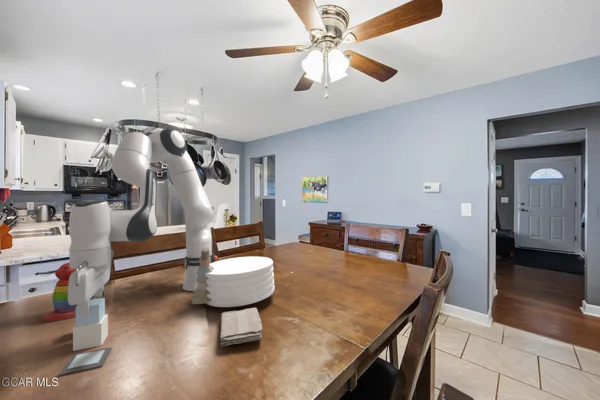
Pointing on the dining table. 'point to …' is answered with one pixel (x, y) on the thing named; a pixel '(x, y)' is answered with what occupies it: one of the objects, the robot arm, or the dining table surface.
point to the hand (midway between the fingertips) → (91, 308)
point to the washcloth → (240, 326)
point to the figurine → (202, 278)
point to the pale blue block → (92, 313)
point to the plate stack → (240, 281)
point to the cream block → (90, 334)
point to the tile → (85, 361)
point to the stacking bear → (62, 296)
